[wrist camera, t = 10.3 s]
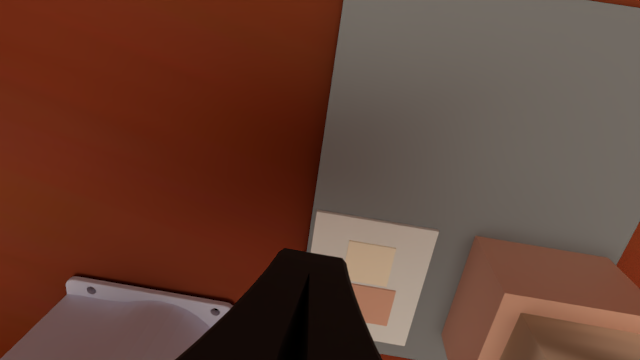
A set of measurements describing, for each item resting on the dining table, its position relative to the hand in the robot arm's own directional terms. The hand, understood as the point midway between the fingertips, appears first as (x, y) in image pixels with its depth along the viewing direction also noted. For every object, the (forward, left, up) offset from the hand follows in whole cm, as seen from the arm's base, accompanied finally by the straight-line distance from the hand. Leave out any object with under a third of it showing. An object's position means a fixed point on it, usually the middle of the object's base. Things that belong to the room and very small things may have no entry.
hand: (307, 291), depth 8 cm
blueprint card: (+2, -6, -9) cm, 12 cm away
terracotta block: (+10, -6, -9) cm, 15 cm away
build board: (+6, -2, -10) cm, 12 cm away
